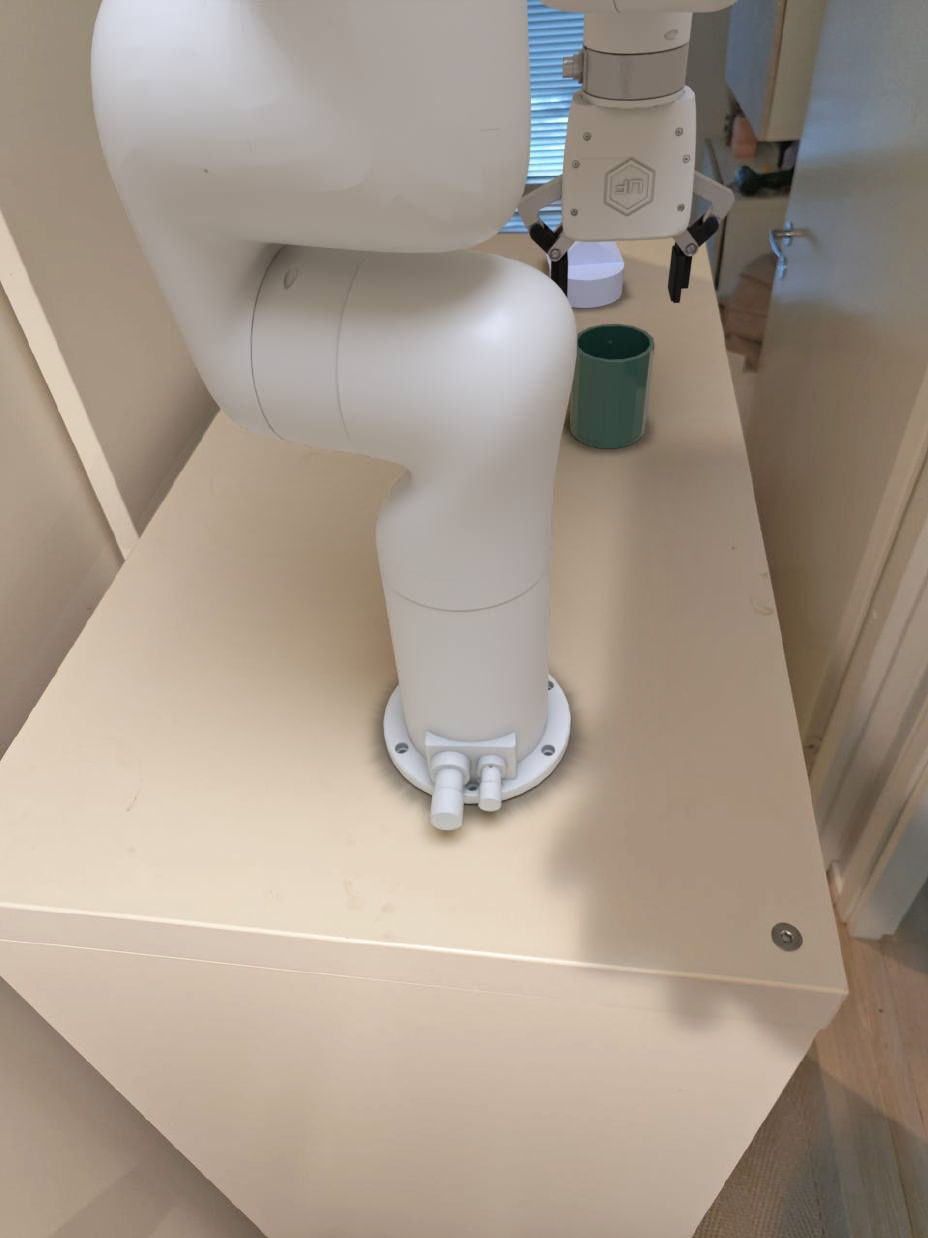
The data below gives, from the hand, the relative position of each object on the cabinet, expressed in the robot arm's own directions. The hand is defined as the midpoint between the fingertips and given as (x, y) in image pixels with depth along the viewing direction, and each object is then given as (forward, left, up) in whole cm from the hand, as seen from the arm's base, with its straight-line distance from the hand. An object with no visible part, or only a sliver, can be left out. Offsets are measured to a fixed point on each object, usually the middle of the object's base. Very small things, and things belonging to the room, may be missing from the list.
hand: (617, 297), depth 74 cm
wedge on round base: (+33, +1, -13) cm, 35 cm away
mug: (+1, 0, -13) cm, 13 cm away
